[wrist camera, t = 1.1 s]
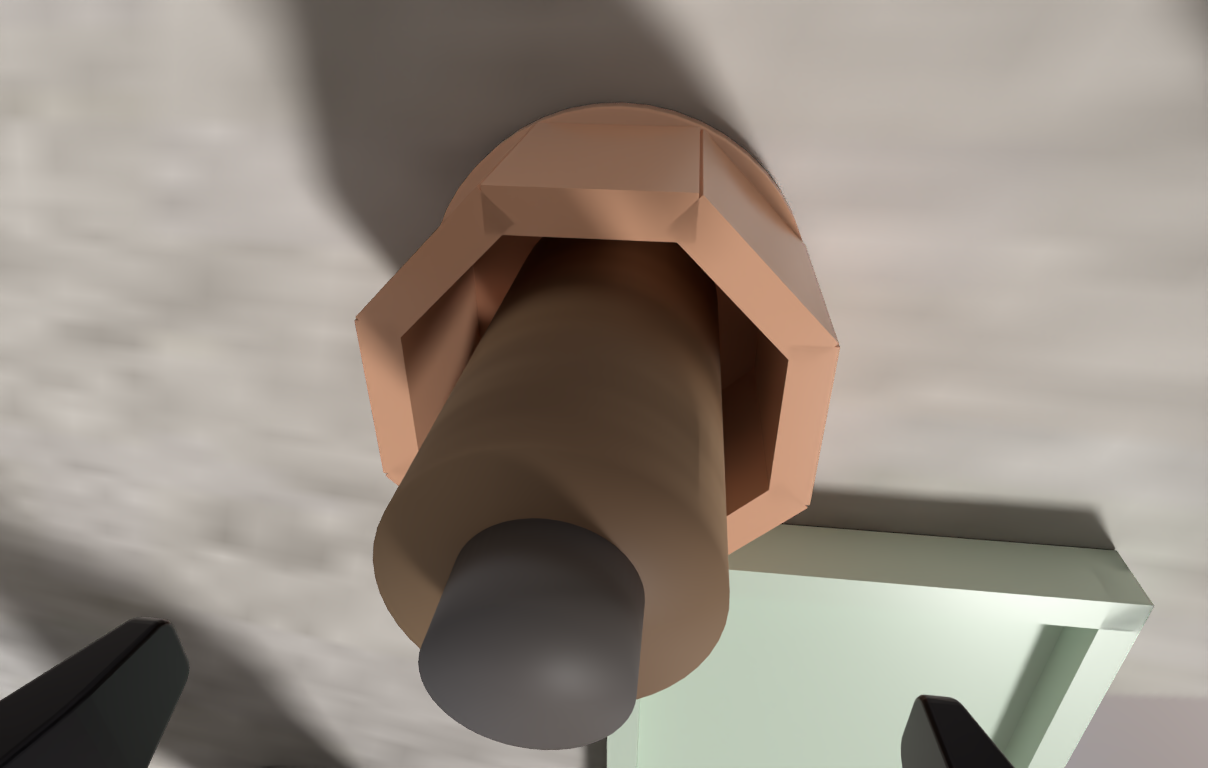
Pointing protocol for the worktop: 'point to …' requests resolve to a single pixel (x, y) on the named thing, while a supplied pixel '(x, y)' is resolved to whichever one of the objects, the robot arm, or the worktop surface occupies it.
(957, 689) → the tray
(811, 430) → the utensil pot
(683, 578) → the pepper mill
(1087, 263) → the worktop surface
